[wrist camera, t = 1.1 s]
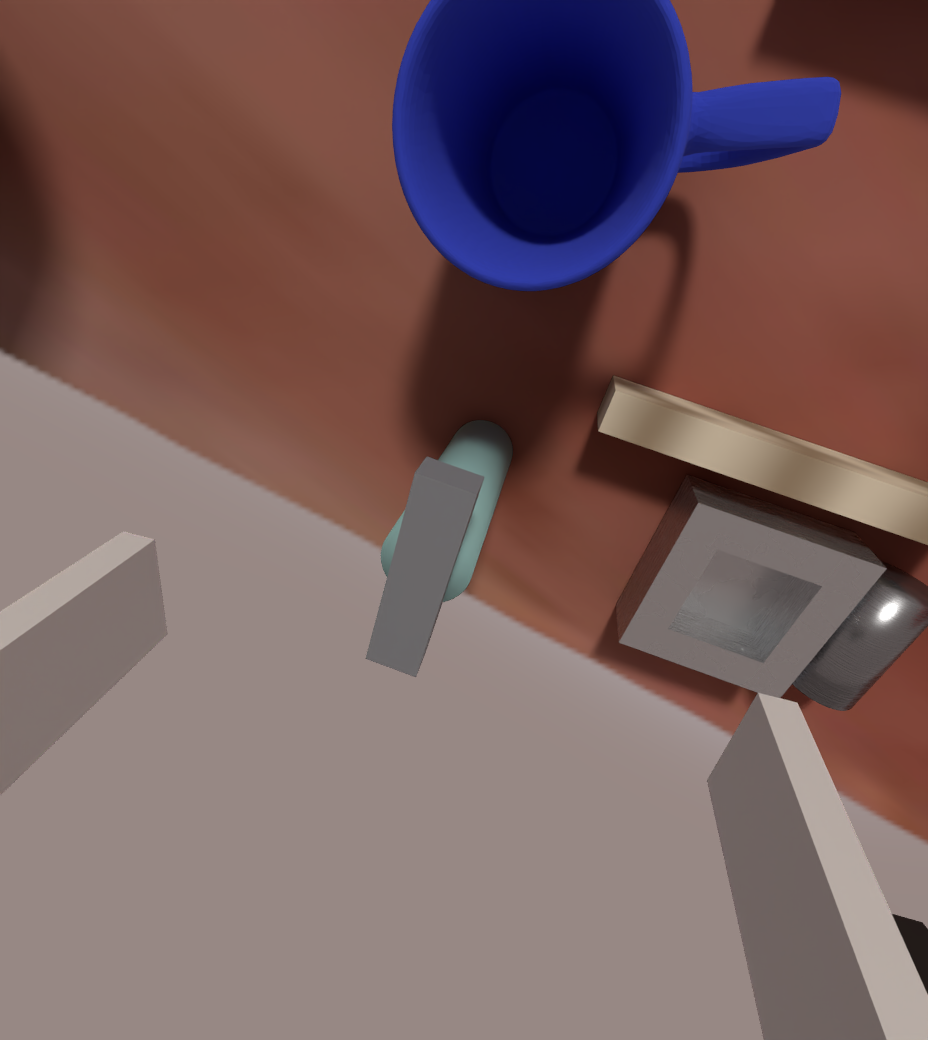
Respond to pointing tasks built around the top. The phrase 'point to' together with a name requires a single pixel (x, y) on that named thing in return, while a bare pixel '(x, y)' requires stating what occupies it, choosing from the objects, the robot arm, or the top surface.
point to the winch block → (768, 598)
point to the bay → (766, 458)
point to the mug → (570, 130)
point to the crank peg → (437, 541)
